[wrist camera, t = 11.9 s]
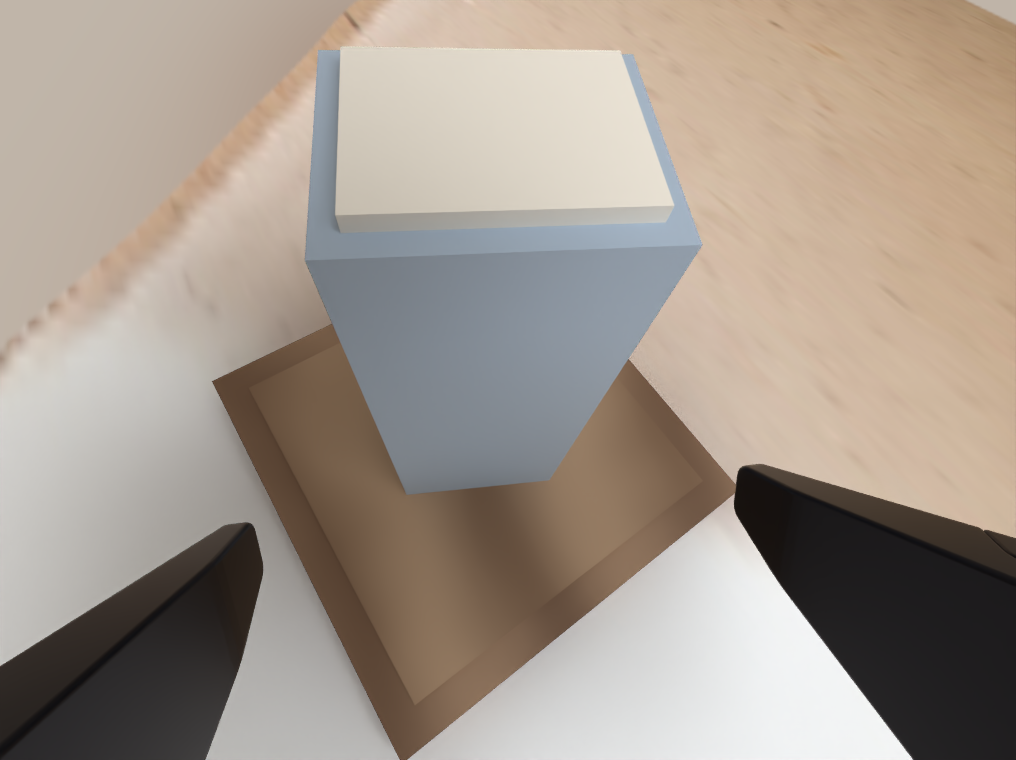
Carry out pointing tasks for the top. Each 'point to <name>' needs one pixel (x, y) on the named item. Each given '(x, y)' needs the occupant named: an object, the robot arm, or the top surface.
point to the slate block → (489, 246)
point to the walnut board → (459, 530)
